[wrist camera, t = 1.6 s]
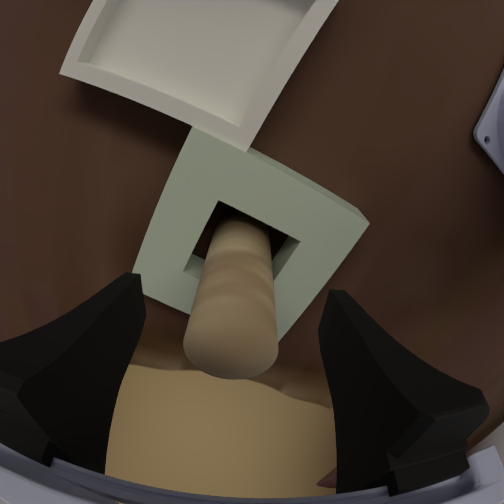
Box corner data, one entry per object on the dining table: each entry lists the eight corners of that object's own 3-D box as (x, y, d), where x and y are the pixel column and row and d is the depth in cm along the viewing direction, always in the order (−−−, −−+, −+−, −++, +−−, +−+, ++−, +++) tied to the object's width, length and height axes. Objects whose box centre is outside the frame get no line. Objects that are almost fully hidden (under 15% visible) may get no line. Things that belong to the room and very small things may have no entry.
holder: (357, 208, 15) (369, 223, 14) (272, 325, 19) (273, 348, 17) (200, 122, 13) (192, 126, 12) (138, 267, 17) (127, 286, 15)
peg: (280, 228, 16) (297, 337, 9) (252, 271, 17) (250, 388, 10) (228, 202, 15) (204, 299, 8) (204, 248, 17) (171, 360, 10)
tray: (337, -2, 10) (347, -13, 9) (247, 145, 14) (246, 152, 12) (158, -65, 8) (148, -79, 6) (78, 73, 12) (59, 73, 10)
